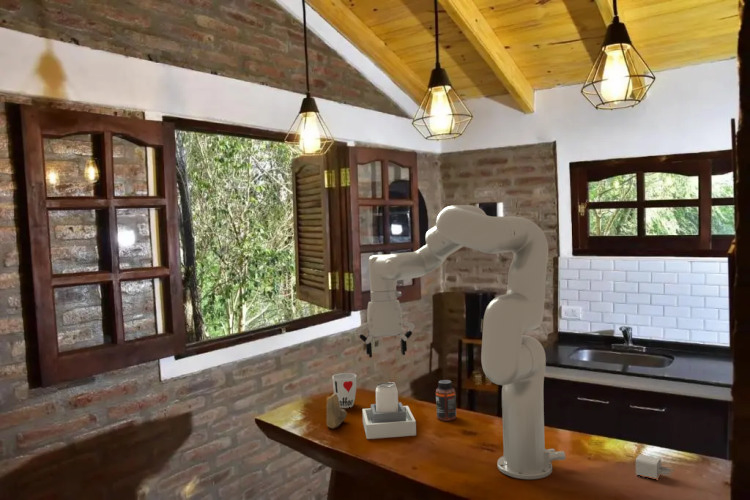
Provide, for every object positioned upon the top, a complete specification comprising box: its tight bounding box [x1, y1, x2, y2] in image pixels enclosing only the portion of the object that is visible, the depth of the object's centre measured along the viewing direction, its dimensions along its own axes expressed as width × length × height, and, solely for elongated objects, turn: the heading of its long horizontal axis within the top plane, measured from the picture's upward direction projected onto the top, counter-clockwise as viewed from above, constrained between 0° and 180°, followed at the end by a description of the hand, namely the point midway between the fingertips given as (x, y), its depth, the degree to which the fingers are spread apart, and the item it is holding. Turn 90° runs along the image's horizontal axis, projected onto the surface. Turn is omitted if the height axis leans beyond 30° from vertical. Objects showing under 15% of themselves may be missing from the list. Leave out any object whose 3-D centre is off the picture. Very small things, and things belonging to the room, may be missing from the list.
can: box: [375, 381, 399, 413], centre depth 159 cm, size 6×6×12 cm
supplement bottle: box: [435, 379, 457, 422], centre depth 166 cm, size 6×6×11 cm
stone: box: [326, 393, 348, 429], centre depth 164 cm, size 9×5×10 cm, turn 155°
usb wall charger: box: [635, 453, 674, 478], centre depth 123 cm, size 4×7×4 cm, turn 50°
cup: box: [331, 372, 357, 409], centre depth 182 cm, size 8×8×10 cm
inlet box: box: [362, 401, 417, 440], centre depth 160 cm, size 14×14×6 cm
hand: (386, 355), depth 159 cm, fingers open, 9 cm apart
